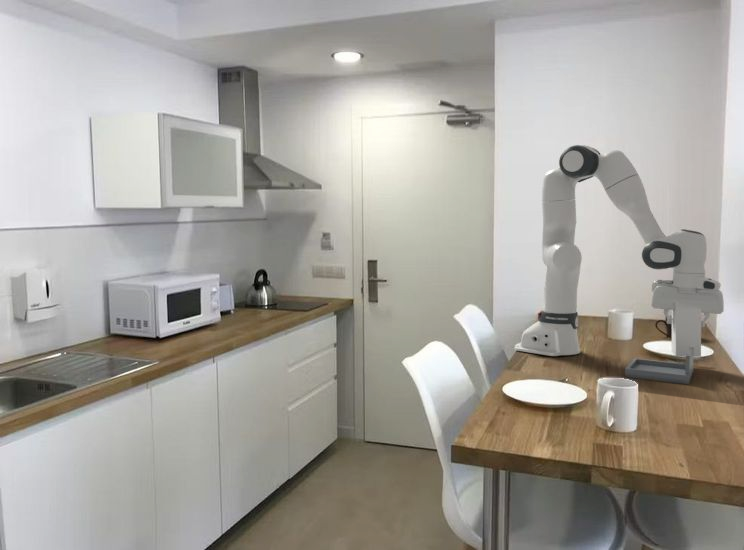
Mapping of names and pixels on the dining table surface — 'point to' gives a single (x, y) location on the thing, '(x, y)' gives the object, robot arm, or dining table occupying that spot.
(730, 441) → the dining table surface
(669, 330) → the coffee mug
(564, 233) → the robot arm
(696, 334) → the milk carton
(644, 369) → the tray
